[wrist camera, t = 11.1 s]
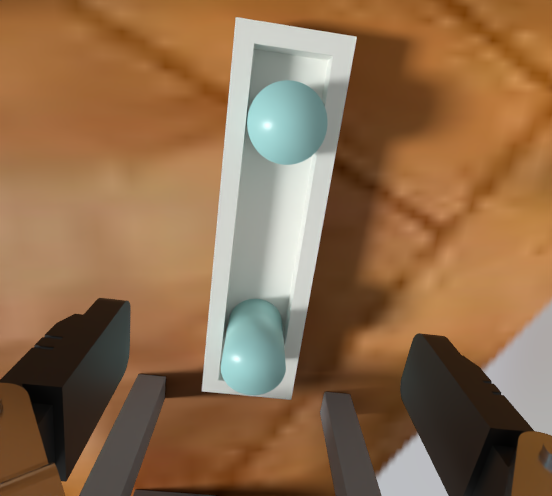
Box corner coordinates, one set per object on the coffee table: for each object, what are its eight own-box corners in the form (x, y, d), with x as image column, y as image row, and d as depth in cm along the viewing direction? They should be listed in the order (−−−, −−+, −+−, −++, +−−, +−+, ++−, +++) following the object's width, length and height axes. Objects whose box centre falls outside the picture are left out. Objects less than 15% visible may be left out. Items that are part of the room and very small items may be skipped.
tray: (239, 30, 22) (230, -3, 16) (344, 47, 22) (374, 21, 16) (207, 363, 28) (193, 428, 23) (288, 371, 29) (294, 436, 23)
